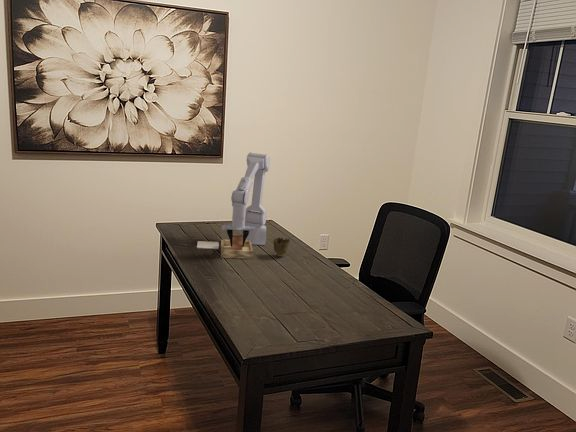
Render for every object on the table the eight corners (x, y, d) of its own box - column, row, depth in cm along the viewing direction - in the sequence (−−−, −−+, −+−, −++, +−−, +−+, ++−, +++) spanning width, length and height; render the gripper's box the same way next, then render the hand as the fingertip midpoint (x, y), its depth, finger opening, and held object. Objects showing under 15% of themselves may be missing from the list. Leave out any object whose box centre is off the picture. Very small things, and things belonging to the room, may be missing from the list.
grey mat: (218, 242, 254) (218, 242, 254) (218, 249, 244) (218, 248, 244) (197, 241, 252) (197, 241, 252) (196, 248, 243) (196, 247, 243)
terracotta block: (241, 247, 240) (242, 234, 239) (242, 250, 236) (242, 237, 234) (231, 246, 239) (232, 234, 238) (232, 249, 235) (232, 237, 234)
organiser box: (250, 247, 250) (250, 240, 249) (252, 258, 235) (253, 251, 234) (220, 246, 248) (221, 239, 247) (220, 257, 233) (221, 249, 232)
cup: (269, 256, 240) (270, 240, 238) (275, 252, 246) (277, 236, 244) (284, 259, 237) (286, 242, 235) (290, 255, 244) (292, 239, 242)
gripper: (222, 218, 229) (220, 248, 232) (255, 220, 231) (253, 249, 234) (222, 214, 236) (220, 243, 239) (254, 216, 238) (252, 244, 241)
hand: (237, 246), depth 237 cm, fingers closed on terracotta block, 4 cm apart
